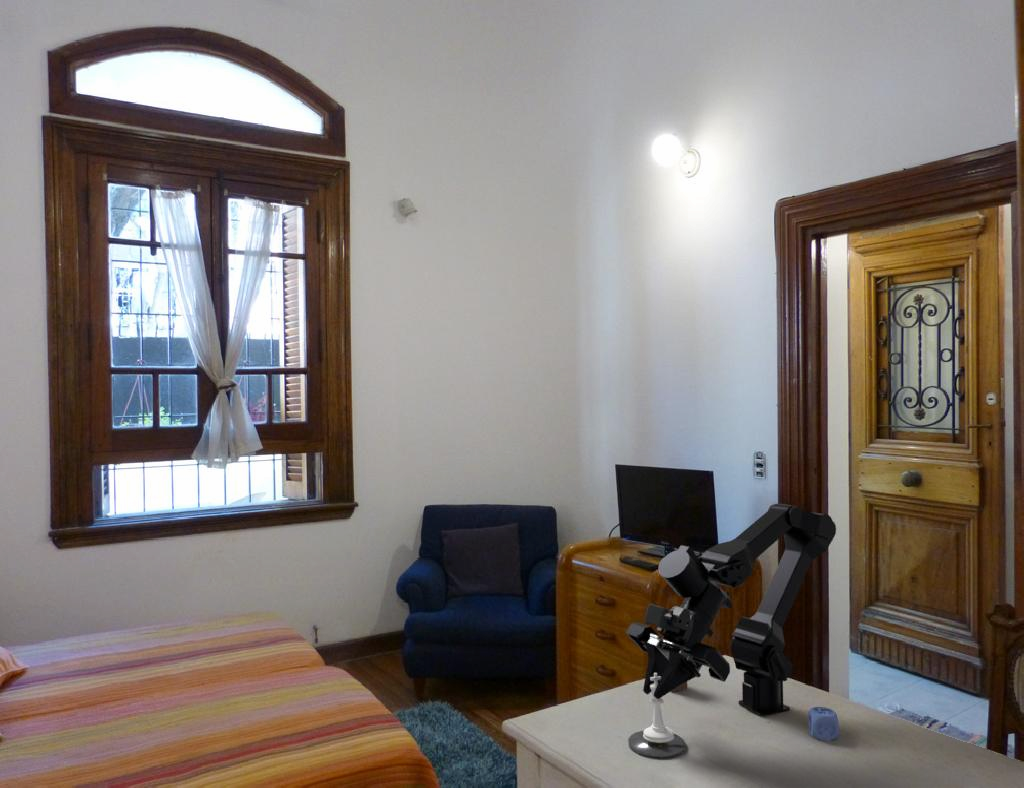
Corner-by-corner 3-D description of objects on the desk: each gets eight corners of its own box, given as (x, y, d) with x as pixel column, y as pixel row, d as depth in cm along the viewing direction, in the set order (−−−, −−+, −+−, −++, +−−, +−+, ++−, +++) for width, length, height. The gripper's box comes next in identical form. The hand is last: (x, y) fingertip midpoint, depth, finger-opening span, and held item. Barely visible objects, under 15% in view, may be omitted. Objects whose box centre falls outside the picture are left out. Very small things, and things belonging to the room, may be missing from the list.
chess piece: (679, 740, 120) (675, 676, 121) (649, 744, 119) (646, 679, 120) (667, 729, 125) (664, 667, 125) (638, 732, 124) (635, 670, 125)
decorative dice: (808, 729, 128) (807, 705, 128) (833, 731, 127) (832, 707, 127) (813, 740, 124) (812, 715, 124) (839, 741, 123) (838, 716, 123)
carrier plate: (664, 729, 128) (664, 726, 128) (697, 751, 120) (696, 748, 120) (618, 739, 125) (617, 735, 125) (648, 762, 116) (648, 758, 116)
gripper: (632, 575, 133) (584, 651, 126) (715, 596, 117) (666, 684, 111) (666, 612, 137) (621, 688, 131) (750, 638, 121) (704, 725, 115)
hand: (650, 695), depth 122 cm, fingers closed
